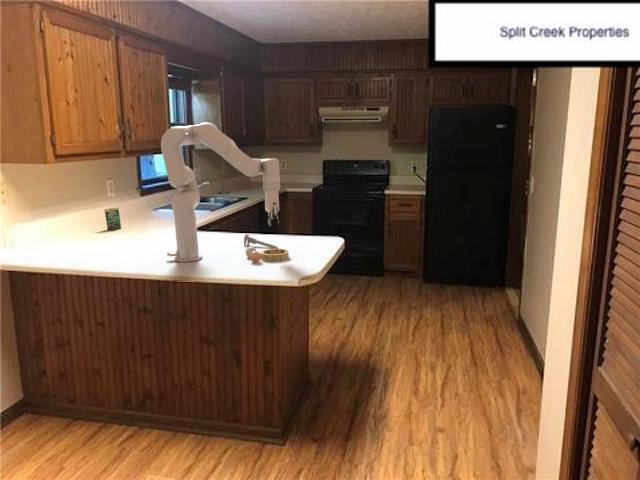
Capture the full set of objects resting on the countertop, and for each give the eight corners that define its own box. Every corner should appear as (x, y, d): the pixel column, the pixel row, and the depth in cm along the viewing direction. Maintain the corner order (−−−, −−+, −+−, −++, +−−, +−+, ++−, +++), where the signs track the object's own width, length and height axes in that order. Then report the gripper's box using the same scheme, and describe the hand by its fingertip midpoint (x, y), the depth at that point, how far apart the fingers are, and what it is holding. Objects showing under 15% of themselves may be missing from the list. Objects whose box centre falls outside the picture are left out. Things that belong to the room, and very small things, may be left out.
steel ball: (269, 228, 230) (268, 217, 229) (267, 226, 235) (266, 215, 234) (280, 227, 232) (279, 216, 230) (277, 225, 236) (277, 215, 235)
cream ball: (246, 259, 236) (246, 248, 235) (245, 256, 240) (244, 246, 239) (257, 258, 237) (256, 247, 236) (255, 255, 242) (255, 245, 241)
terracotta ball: (250, 263, 227) (250, 252, 226) (249, 261, 232) (248, 250, 231) (262, 262, 228) (261, 251, 227) (260, 260, 233) (259, 249, 232)
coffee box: (107, 230, 315) (104, 209, 312) (106, 229, 317) (104, 208, 315) (121, 228, 318) (119, 207, 316) (120, 228, 321) (118, 207, 318)
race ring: (263, 262, 229) (263, 256, 228) (259, 256, 240) (258, 250, 240) (291, 260, 232) (290, 253, 231) (285, 253, 244) (284, 247, 243)
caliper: (243, 246, 264) (243, 234, 262) (245, 245, 265) (244, 233, 263) (277, 249, 255) (277, 237, 253) (279, 248, 256) (278, 236, 254)
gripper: (260, 185, 236) (262, 224, 240) (266, 189, 220) (268, 230, 224) (276, 184, 238) (277, 223, 242) (284, 188, 222) (285, 229, 226)
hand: (273, 226), depth 233 cm, fingers closed on steel ball, 4 cm apart
